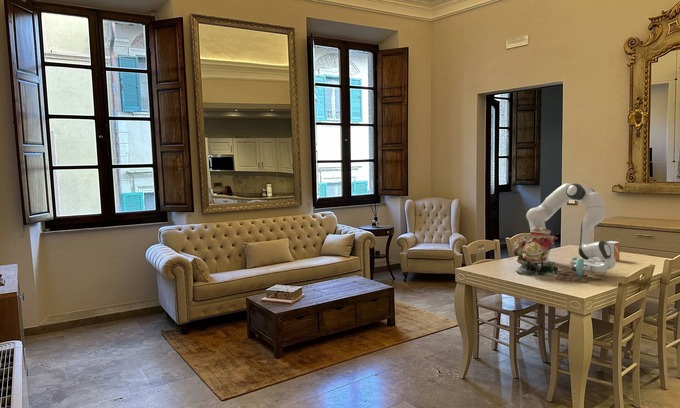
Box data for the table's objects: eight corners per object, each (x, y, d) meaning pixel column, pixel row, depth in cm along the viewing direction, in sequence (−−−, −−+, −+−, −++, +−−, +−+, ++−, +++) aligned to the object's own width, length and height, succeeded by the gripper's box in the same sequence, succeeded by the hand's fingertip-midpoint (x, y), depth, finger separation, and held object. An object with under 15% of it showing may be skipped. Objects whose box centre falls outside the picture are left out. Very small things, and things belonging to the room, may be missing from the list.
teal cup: (558, 274, 299) (559, 258, 298) (559, 272, 305) (560, 255, 304) (580, 276, 293) (580, 259, 292) (580, 273, 299) (581, 257, 298)
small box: (613, 261, 332) (614, 243, 331) (604, 260, 337) (605, 242, 336) (619, 260, 336) (620, 241, 335) (610, 258, 342) (611, 240, 341)
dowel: (575, 277, 283) (576, 259, 282) (576, 276, 286) (576, 258, 285) (583, 278, 281) (583, 259, 280) (583, 276, 284) (583, 258, 283)
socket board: (556, 279, 285) (556, 275, 285) (558, 276, 294) (558, 272, 294) (586, 282, 278) (586, 278, 277) (587, 278, 286) (587, 274, 286)
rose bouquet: (511, 266, 324) (511, 223, 321) (558, 269, 313) (559, 224, 310) (509, 275, 300) (510, 228, 297) (560, 278, 289) (561, 229, 286)
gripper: (579, 256, 298) (563, 259, 292) (610, 262, 279) (594, 265, 273) (578, 266, 298) (563, 269, 292) (609, 273, 280) (594, 276, 274)
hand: (578, 267), depth 283 cm, fingers closed on dowel, 4 cm apart
